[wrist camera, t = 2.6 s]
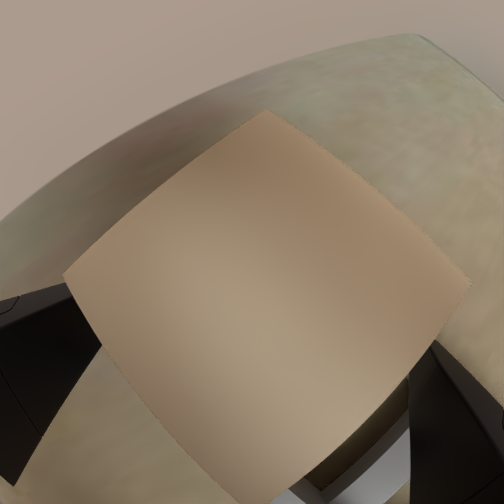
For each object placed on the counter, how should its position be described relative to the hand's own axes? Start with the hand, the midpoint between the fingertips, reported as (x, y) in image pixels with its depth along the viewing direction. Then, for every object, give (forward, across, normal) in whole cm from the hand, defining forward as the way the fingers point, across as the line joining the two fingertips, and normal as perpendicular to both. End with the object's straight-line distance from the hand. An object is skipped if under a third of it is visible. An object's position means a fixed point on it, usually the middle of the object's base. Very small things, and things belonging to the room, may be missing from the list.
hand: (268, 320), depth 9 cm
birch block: (+5, 0, +5) cm, 7 cm away
